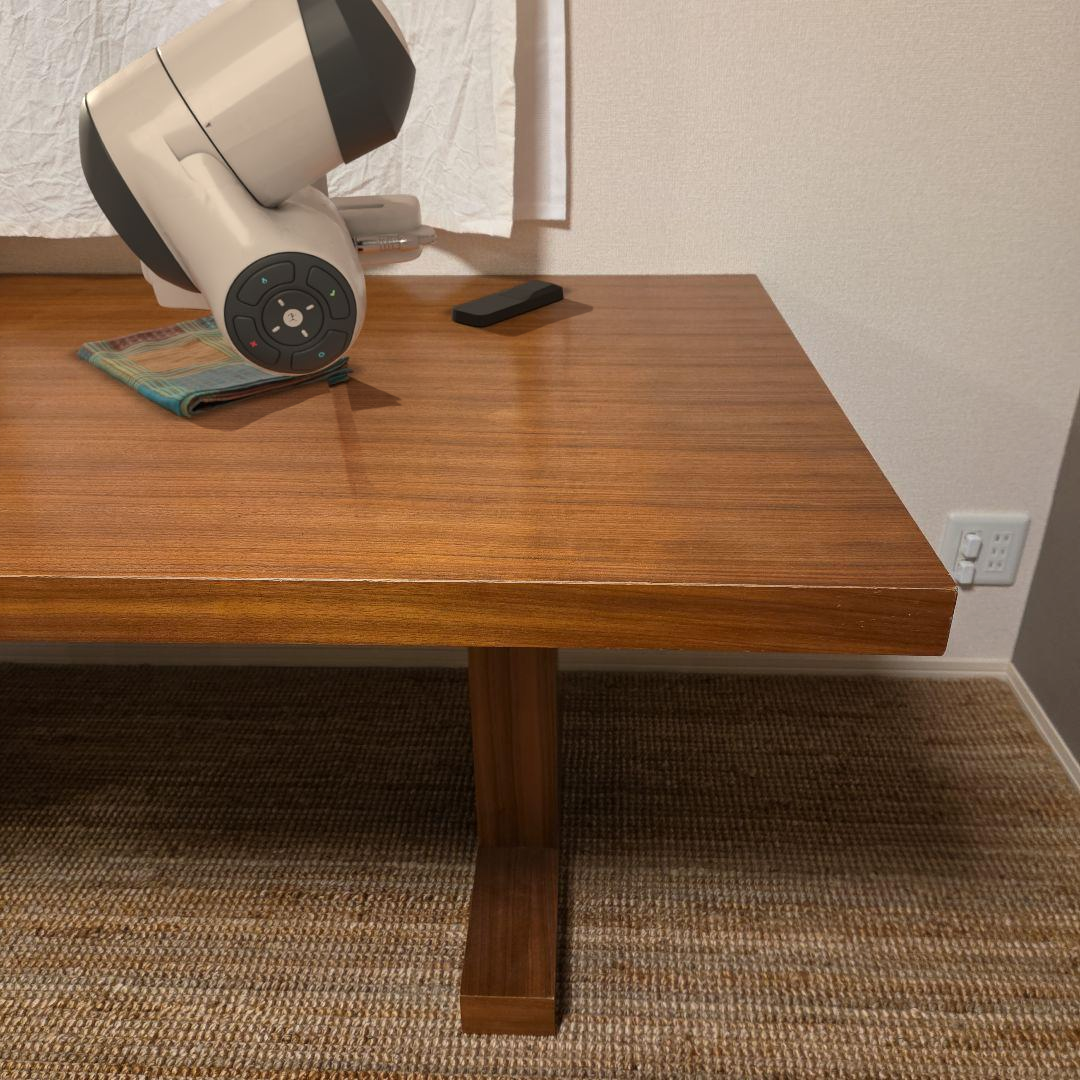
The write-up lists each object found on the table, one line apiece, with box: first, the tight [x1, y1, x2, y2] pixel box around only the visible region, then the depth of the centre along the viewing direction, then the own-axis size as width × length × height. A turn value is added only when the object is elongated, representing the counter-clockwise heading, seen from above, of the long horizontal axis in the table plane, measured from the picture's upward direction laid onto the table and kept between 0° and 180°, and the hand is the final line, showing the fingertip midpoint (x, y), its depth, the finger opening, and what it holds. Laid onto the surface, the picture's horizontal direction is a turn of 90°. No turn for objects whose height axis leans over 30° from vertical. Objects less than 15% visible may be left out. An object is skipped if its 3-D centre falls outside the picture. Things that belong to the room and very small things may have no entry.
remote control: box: [451, 279, 565, 328], centre depth 114 cm, size 5×2×15 cm
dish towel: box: [77, 315, 355, 418], centre depth 96 cm, size 17×23×2 cm
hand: (280, 212), depth 78 cm, fingers closed on can, 7 cm apart
